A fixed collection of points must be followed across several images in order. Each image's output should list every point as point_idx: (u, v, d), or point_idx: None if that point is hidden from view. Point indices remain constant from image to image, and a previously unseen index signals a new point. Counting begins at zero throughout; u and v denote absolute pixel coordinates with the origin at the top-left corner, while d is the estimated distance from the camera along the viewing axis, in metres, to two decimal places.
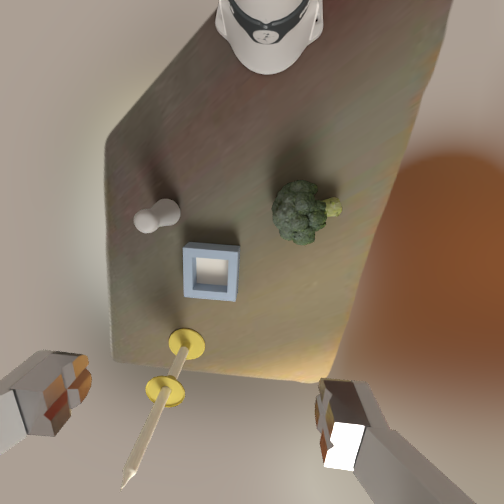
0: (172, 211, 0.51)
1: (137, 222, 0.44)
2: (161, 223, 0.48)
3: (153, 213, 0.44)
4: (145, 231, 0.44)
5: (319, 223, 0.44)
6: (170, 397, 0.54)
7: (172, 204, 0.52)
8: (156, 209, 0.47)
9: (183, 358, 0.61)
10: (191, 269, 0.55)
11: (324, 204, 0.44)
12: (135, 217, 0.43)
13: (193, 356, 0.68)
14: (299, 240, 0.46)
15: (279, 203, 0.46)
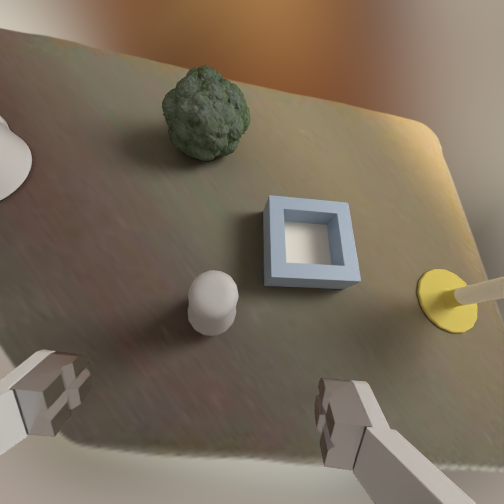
0: None
1: (214, 305, 0.20)
2: None
3: None
4: (233, 292, 0.21)
5: (214, 70, 0.34)
6: None
7: None
8: None
9: (479, 283, 0.33)
10: (308, 265, 0.32)
11: None
12: (203, 310, 0.20)
13: None
14: (240, 97, 0.34)
15: (191, 123, 0.33)
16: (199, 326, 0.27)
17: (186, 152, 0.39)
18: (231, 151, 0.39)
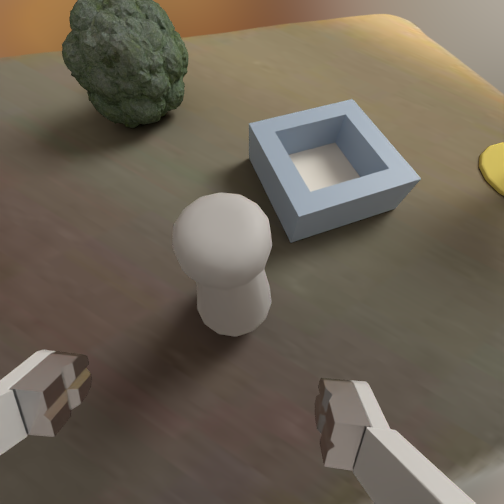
0: None
1: (231, 247, 0.09)
2: None
3: None
4: (258, 213, 0.10)
5: None
6: None
7: None
8: None
9: None
10: (341, 184, 0.22)
11: None
12: (213, 264, 0.09)
13: None
14: (160, 10, 0.25)
15: (107, 62, 0.24)
16: (223, 323, 0.16)
17: (123, 120, 0.29)
18: (179, 98, 0.30)
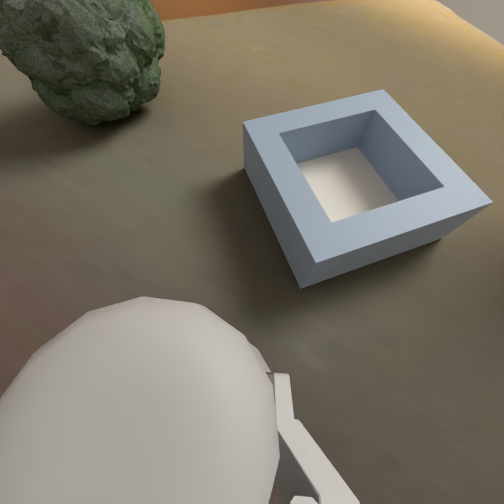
0: None
1: None
2: None
3: None
4: (238, 388, 0.03)
5: None
6: None
7: None
8: None
9: None
10: (377, 211, 0.15)
11: None
12: None
13: None
14: None
15: (43, 33, 0.17)
16: None
17: (80, 115, 0.22)
18: (153, 87, 0.23)
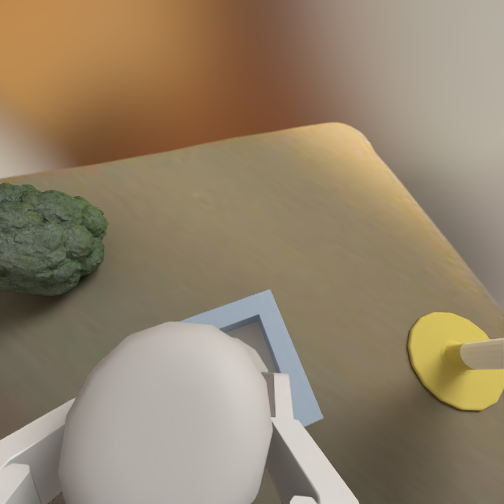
0: None
1: None
2: None
3: None
4: (241, 384, 0.05)
5: (8, 186, 0.24)
6: None
7: None
8: None
9: (490, 345, 0.22)
10: None
11: None
12: None
13: (471, 328, 0.28)
14: (59, 206, 0.24)
15: None
16: None
17: None
18: (96, 265, 0.29)
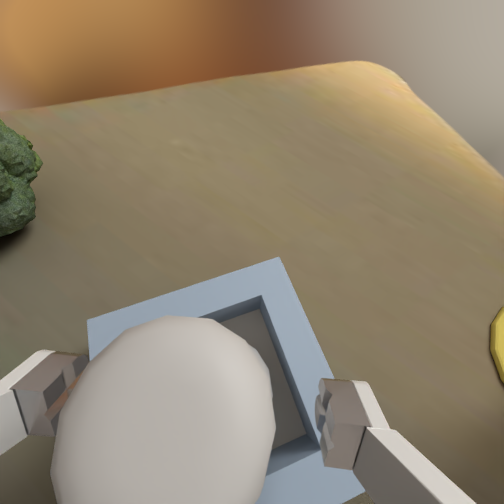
0: None
1: None
2: None
3: None
4: (243, 379, 0.05)
5: None
6: None
7: None
8: None
9: None
10: None
11: None
12: None
13: None
14: None
15: None
16: None
17: None
18: (19, 219, 0.19)
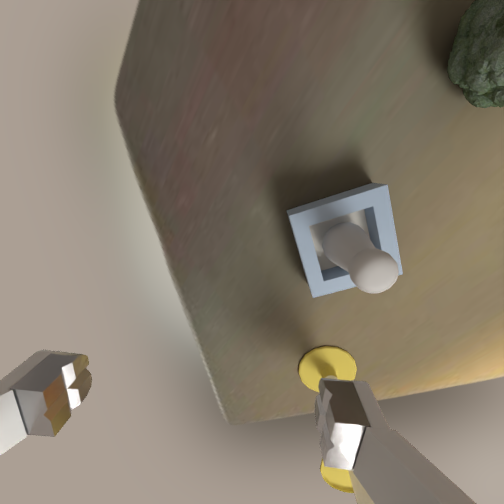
0: (368, 238, 0.30)
1: (366, 280, 0.23)
2: None
3: (385, 252, 0.23)
4: (382, 290, 0.24)
5: None
6: None
7: (358, 228, 0.31)
8: (363, 244, 0.26)
9: None
10: (313, 247, 0.32)
11: None
12: (359, 273, 0.23)
13: None
14: None
15: (502, 20, 0.21)
16: (331, 245, 0.31)
17: (456, 38, 0.27)
18: (473, 103, 0.28)
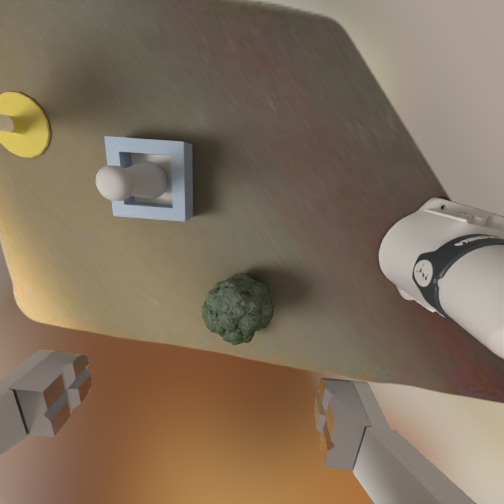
0: (147, 196, 0.38)
1: (107, 174, 0.29)
2: None
3: (128, 195, 0.31)
4: (97, 184, 0.30)
5: (229, 340, 0.40)
6: None
7: (158, 193, 0.39)
8: (140, 186, 0.34)
9: None
10: (151, 152, 0.37)
11: (249, 341, 0.41)
12: (114, 171, 0.29)
13: (0, 136, 0.42)
14: (207, 319, 0.40)
15: (248, 293, 0.40)
16: (148, 166, 0.37)
17: (256, 280, 0.46)
18: (218, 283, 0.46)
